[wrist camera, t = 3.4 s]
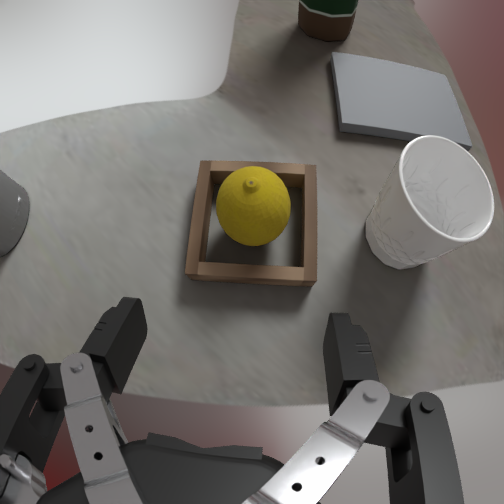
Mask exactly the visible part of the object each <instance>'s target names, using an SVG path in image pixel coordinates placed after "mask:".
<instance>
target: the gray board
mask: <svg viewBox="0 0 504 504" xmlns="http://www.w3.org/2000/svg"><path fill="white" fill-rule="evenodd" d="M330 61H331V68H332V75H333V82H334V89H335V96H336V104H337V113H338V121H339V131H340V132H349V133H357V134H365V135H373V136H380V137H387V138H393V139H399V140H405V141H412V140H414V139H415V138H418V137H421V136H426V135H433V136H440V137H443V138H446V139H449V140H451V141H453V142H455V143H457V144H458V145H460V146H461V147H463V148H464V149H465V150H466V151H469V150H470V148H471V147H472V144H471V140H470V137H469V134H468V131H467V128H466V125H465V123H464V120H463V117H462V114H461V112H460V109H459V106H458V104H457V101H456V99H455V96H454V94H453V92H452V89H451V87H450V84H449V82H448V80H447V78H446V75H443V74H440V73H436V72H433V71H429V70H425V69H421V68H417V67H413V66H409V65H405V64H401V63H396V62H391V61H387V60H382V59H376V58H371V57H365V56H359V55H352V54H346V53H338V52H332V54H331V59H330Z"/></svg>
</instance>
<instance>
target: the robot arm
mask: <svg viewBox="0 0 504 504" xmlns="http://www.w3.org/2000/svg"><path fill="white" fill-rule="evenodd" d="M28 215H29V197H28V194H27V192H26V191H25V189H24V188H23V187H21V186H20V185H19V184H17V183H16V182H15V181H14V180H12V179H11V178H10V177H9V176H7V175H6V174H5V173H4V172H3V171H1V170H0V256H3V255H5V254H7V253H8V252H9V251H10V250H11V249H12V248H13V247H14V246H15V245H16V243H17V242H18V240H19V239H20V237H21V235H22V233H23V231H24V229H25V226H26V223H27V220H28ZM146 336H147V323H146V319H145V314H144V310H143V305H142V301H141V300H140V299H139V298H130V297H123V298H122V299H121V301H120V302H119V304H118V305H117V307H111V308H110V309H109V310H108V311H106V312H105V313H104V314H103V315H102V317H101V318H100V320H99V323H97V325H96V326H95V328H94V330H93V331H92V333H91V334H90V336H89V338H88V339H87V341H86V342H85V344H84V346H83V347H82V349H81V351H80V352H79V353H73V354H71V355H69V356H67V357H66V358H65V359H64V360H63V361H62V363H50V364H46V363H45V361H44V360H43V358H42V357H41V356H39V355H36V354H32V355H28V356H26V357H24V358H23V359H22V360H21V361H20V362H19V364H18V365H17V367H16V368H15V370H14V372H13V374H12V375H11V377H10V379H9V381H8V382H7V384H6V386H5V387H4V389H3V391H2V393H1V395H0V504H321V503H320V502H319V501H320V499H321V498H322V497H323V496H324V495H325V494H326V492H327V491H328V490H329V489H330V487H331V486H332V485H333V484H334V482H335V481H336V480H337V478H338V477H339V476H340V475H341V473H342V472H343V471H344V469H345V468H346V467H347V465H348V464H349V462H350V461H351V460H352V458H353V457H354V455H355V454H356V453H357V451H358V450H359V449H360V447H361V446H362V444H363V443H364V442H365V443H369V444H374V445H378V446H383V447H385V449H386V458H387V468H388V481H389V496H390V504H464V499H463V492H462V486H461V480H460V475H459V470H458V465H457V460H456V455H455V451H454V446H453V442H452V437H451V433H450V429H449V426H448V421H447V418H446V414H445V411H444V407H443V404H442V402H441V400H440V399H439V398H438V397H437V396H436V395H434V394H432V393H429V392H420V393H417V394H416V395H414V396H413V398H412V399H409V398H404V397H399V396H395V395H393V394H390V393H389V391H388V389H387V388H386V387H385V386H384V385H383V384H381V383H380V382H379V378H378V374H377V370H376V366H375V362H374V359H373V355H372V353H371V347H370V345H369V340H368V337H367V334H366V332H365V331H364V330H363V329H362V328H361V326H360V325H352V324H351V320H350V316H349V314H348V313H330V315H329V319H328V324H327V328H326V333H325V337H324V343H323V355H324V364H325V372H326V381H327V391H328V401H329V411H330V416H332V417H331V418H330V419H329V420H328V421H327V422H324V423H323V424H322V425H320V427H319V428H318V429H317V430H316V431H315V432H314V433H313V435H312V436H311V437H310V438H309V439H308V440H307V441H306V443H305V444H304V445H303V446H302V447H301V448H300V449H299V450H298V451H297V452H296V453H295V455H294V456H293V457H292V458H291V459H290V460H289V461H288V462H287V463H286V464H285V465H284V464H283V463H281V462H280V461H278V460H276V459H274V458H272V457H269V456H266V455H263V454H262V447H247V446H236V445H232V446H223V447H213V448H200V447H198V446H195V445H192V444H190V443H187V442H185V441H183V440H180V439H178V438H175V437H170V436H164V435H159V434H154V433H148V437H147V439H144V440H137V441H133V442H130V443H128V441H127V440H126V438H125V436H124V433H123V431H122V429H121V426H120V424H119V421H118V418H117V416H116V413H115V411H114V408H113V405H112V402H111V400H110V396H111V394H112V392H114V393H118V394H122V391H123V389H124V387H125V384H126V382H127V380H128V377H129V375H130V373H131V370H132V368H133V366H134V364H135V361H136V359H137V357H138V355H139V352H140V350H141V348H142V346H143V344H144V341H145V339H146ZM36 400H37V403H36V405H35V407H34V409H33V412H32V413H31V416H30V418H29V414H30V412H31V409H32V407H33V405H34V403H35V401H36ZM64 416H66V420H67V424H68V428H69V432H70V436H71V440H72V444H73V447H74V451H75V454H76V457H77V460H78V464H79V467H80V470H81V472H79V473H78V474H76V475H74V476H73V477H71V478H70V479H68V480H66V481H64V482H63V483H61V484H59V485H58V486H56V487H54V488H52V489H51V490H49V491H47V487H46V480H45V477H44V475H43V470H44V467H45V465H46V462H47V459H48V456H49V454H50V451H51V448H52V446H53V443H54V440H55V438H56V436H57V433H58V431H59V428H60V426H61V423H62V421H63V418H64Z"/></svg>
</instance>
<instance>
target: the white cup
mask: <svg viewBox="0 0 504 504" xmlns="http://www.w3.org/2000/svg"><path fill="white" fill-rule="evenodd" d="M493 214H494V198H493V193H492V189H491V186H490V183H489V181H488V178H487V176H486V174H485V172H484V171H483V169H482V168H481V166H480V165H479V163H478V162H477V161H476V160H475V158H474V157H473V156H472V155H471V154H470V153H469V152H468V151H466V150H465V149H464V148H463V147H461V146H460V145H458V144H457V143H455V142H453V141H451V140H449V139H446V138H443V137H440V136H433V135H426V136H421V137H418V138H415V139H414V140H412V141H411V142H409V143H408V144H407V145H406V147H405V148H404V150H403V151H402V153H401V155H400V157H399V159H398V161H397V162H396V164H395V166H394V168H393V170H392V171H391V173H390V175H389V177H388V178H387V180H386V182H385V184H384V185H383V187H382V189H381V191H380V193H379V195H378V197H377V198H376V200H375V204H374V206H373V208H372V210H371V212H370V214H369V216H368V217H367V219H366V239H367V241H368V243H369V246H370V248H371V250H372V253H373V254H374V255H376V256H377V257H378V258H379V259H380V260H381V261H382V262H383V263H384V264H385V265H388V266H391V267H394V268H396V269H399V270H400V269H406V268H413V267H416V266H418V265H420V264H423V263H426V262H429V261H432V260H434V259H436V258H438V257H441V256H443V255H446V254H448V253H450V252H452V251H454V250H456V249H458V248H460V247H462V246H464V245H466V244H468V243H470V242H472V241H474V240H476V239H478V238H480V237H481V236H482V235H484V234H485V232H486V231H487V230H488V228H489V227H490V225H491V222H492V219H493Z"/></svg>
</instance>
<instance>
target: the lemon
mask: <svg viewBox="0 0 504 504" xmlns="http://www.w3.org/2000/svg"><path fill="white" fill-rule="evenodd" d="M290 207H291V202H290V198H289V194H288V190H287V188H286V187H285V185H284V183H283V181H282V180H281V179H280V178H279V177H278V176H277V175H276V174H275V173H273V172H272V171H270V170H268V169H266V168H263V167H257V166H249V167H244V168H241V169H238V170H236V171H234V172H233V173H231V174H230V175H229V176H228V177H227V178H226V179H225V180H224V182H223V183H222V185H221V187H220V189H219V192H218V196H217V200H216V211H217V216H218V219H219V223H220V225H221V226H222V228H223V229H224V231H225V233H226V234H227V235H229V236H230V237H231V238H232V239H233V240H235V241H237V242H239V243H241V244H244V245H248V246H260V245H264V244H267V243H269V242H271V241H273V240H275V239H276V238H277V237H278V236H279V235H280V234H281V233H282V232H283V230H284V228H285V227H286V225H287V223H288V220H289V217H290Z"/></svg>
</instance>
